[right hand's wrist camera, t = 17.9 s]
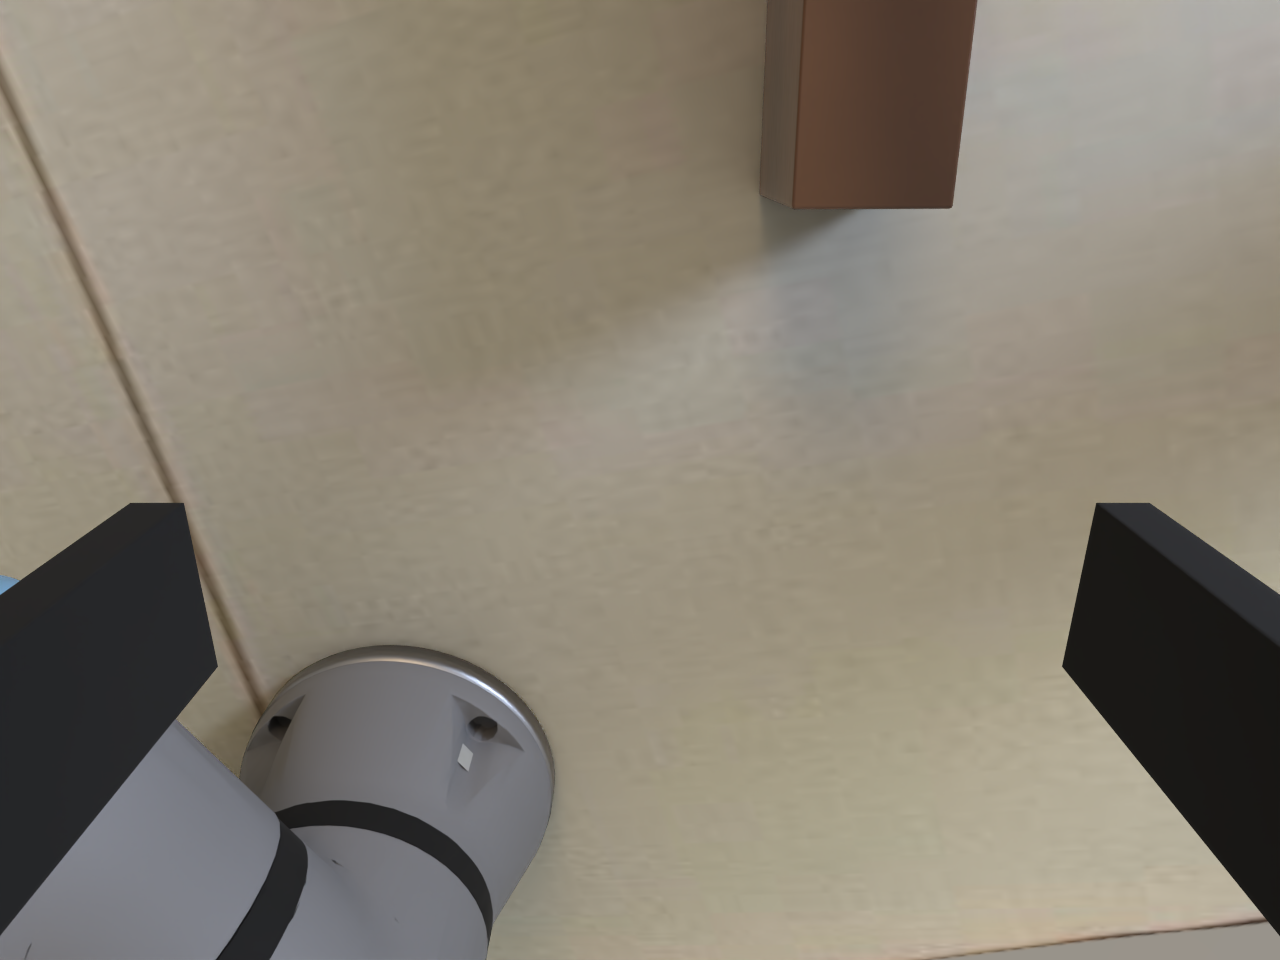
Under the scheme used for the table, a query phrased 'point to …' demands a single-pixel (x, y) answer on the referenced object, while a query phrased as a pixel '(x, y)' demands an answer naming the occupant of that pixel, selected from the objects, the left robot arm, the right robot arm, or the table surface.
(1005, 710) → the table surface
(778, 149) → the walnut beam
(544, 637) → the table surface
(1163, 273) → the table surface
